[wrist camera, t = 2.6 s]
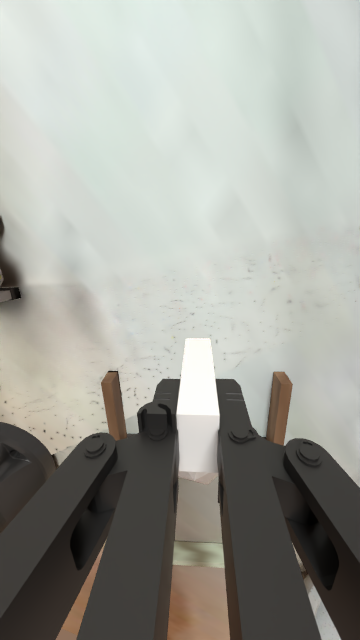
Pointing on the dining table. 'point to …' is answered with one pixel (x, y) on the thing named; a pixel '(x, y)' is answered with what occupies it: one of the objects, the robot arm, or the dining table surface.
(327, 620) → the ceramic mug
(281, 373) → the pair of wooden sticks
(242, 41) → the dining table surface
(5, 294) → the figurine
